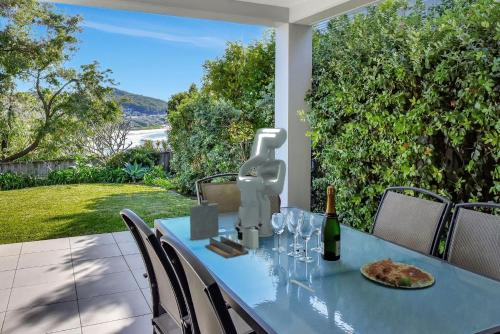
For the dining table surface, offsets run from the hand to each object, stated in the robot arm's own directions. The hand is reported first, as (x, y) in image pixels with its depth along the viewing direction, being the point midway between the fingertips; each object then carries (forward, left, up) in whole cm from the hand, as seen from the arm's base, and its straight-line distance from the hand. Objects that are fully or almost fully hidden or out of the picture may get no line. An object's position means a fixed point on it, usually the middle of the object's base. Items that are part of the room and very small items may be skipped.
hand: (248, 238), depth 207 cm
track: (+13, 0, -4) cm, 13 cm away
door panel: (0, 0, -4) cm, 4 cm away
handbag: (-40, -44, -4) cm, 60 cm away
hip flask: (+11, -25, -4) cm, 28 cm away
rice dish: (-25, +67, -5) cm, 72 cm away
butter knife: (+11, +60, -5) cm, 61 cm away
